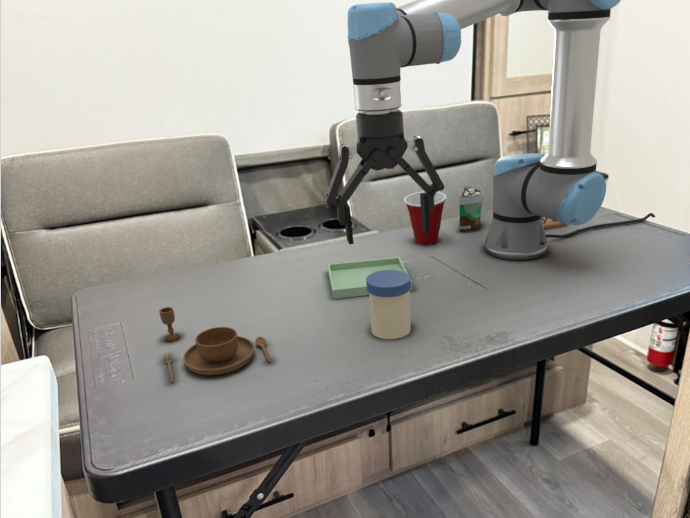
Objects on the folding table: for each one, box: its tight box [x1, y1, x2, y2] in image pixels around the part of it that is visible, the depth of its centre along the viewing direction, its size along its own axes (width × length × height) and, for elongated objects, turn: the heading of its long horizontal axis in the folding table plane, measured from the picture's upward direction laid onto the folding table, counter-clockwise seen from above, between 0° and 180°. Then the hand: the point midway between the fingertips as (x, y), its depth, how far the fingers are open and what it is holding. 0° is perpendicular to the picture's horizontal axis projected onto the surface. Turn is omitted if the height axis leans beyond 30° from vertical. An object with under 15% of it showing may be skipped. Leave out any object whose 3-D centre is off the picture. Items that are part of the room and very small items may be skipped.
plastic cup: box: [403, 190, 447, 246], centre depth 154 cm, size 11×11×12 cm
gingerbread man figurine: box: [542, 217, 567, 230], centre depth 162 cm, size 9×4×12 cm, turn 111°
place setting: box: [158, 306, 271, 383], centre depth 107 cm, size 18×20×6 cm
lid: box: [366, 270, 412, 297], centre depth 109 cm, size 8×8×2 cm
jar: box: [368, 290, 412, 340], centre depth 111 cm, size 7×7×10 cm
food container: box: [458, 185, 486, 233], centre depth 164 cm, size 12×6×10 cm, turn 168°
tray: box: [326, 256, 414, 300], centre depth 134 cm, size 17×15×2 cm
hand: (388, 236), depth 105 cm, fingers open, 13 cm apart
